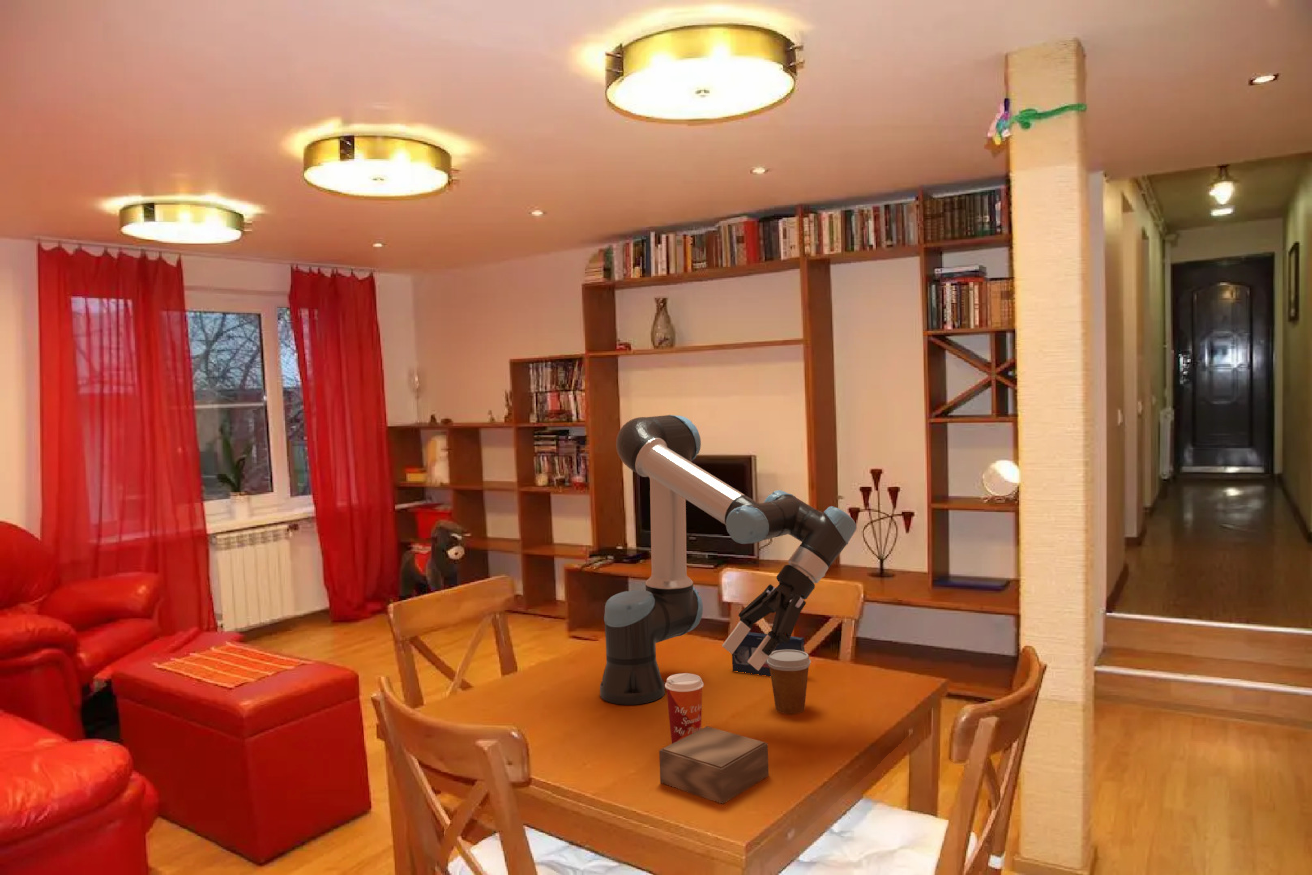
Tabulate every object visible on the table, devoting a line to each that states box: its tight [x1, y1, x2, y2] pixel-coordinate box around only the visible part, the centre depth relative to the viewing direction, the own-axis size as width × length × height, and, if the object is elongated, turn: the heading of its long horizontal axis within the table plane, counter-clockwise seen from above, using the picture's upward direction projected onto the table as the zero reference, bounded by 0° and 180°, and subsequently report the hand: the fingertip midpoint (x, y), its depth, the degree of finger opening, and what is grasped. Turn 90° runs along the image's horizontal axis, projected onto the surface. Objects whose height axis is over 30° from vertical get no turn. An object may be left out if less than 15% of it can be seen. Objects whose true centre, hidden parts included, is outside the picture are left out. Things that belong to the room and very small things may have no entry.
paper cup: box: [664, 672, 705, 744], centre depth 176 cm, size 8×8×14 cm
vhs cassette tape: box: [731, 631, 806, 677], centre depth 219 cm, size 18×3×10 cm, turn 61°
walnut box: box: [658, 725, 769, 805], centre depth 161 cm, size 14×14×6 cm
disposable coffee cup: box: [767, 650, 812, 715], centre depth 195 cm, size 10×10×12 cm
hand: (739, 657), depth 179 cm, fingers open, 13 cm apart
